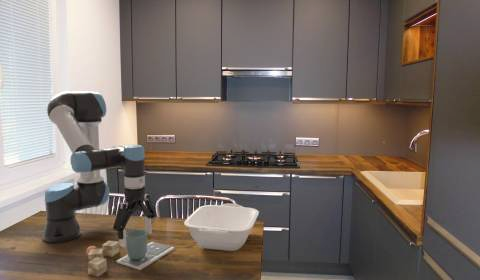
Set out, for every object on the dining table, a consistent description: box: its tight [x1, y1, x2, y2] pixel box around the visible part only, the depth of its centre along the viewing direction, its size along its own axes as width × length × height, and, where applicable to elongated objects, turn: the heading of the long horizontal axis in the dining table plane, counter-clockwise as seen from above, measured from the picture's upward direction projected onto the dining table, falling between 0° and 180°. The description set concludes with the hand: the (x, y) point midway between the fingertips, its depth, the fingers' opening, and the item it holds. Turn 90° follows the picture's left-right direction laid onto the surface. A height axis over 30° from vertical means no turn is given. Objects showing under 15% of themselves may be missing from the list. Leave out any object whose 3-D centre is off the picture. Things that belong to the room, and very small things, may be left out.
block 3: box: [101, 240, 120, 258], centre depth 144 cm, size 4×4×4 cm
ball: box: [86, 245, 98, 256], centre depth 142 cm, size 4×4×4 cm
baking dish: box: [183, 203, 260, 252], centre depth 154 cm, size 34×28×13 cm
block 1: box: [87, 248, 104, 262], centre depth 137 cm, size 4×4×4 cm
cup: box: [125, 228, 148, 260], centre depth 138 cm, size 8×8×10 cm
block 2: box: [87, 257, 108, 277], centre depth 129 cm, size 4×4×4 cm
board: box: [116, 241, 175, 271], centre depth 143 cm, size 12×20×1 cm, turn 152°
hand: (136, 239), depth 138 cm, fingers open, 13 cm apart
